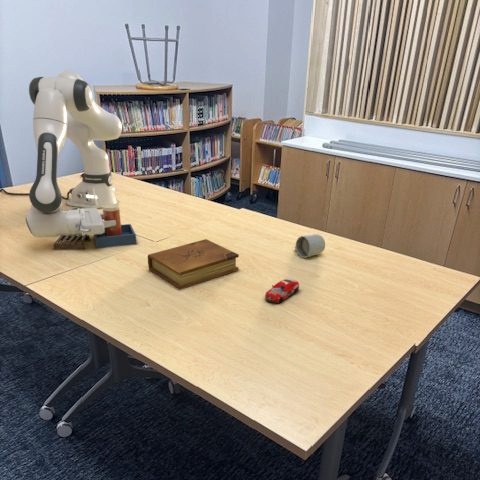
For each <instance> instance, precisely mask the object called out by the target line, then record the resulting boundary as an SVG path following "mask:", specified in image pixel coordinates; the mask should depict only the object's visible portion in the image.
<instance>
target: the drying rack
mask: <svg viewBox="0 0 480 480" xmlns="http://www.w3.org/2000/svg"><path fill="white" fill-rule="evenodd" d="M85 241H88V242H90V241H91V237H90V235H87V234H82V235H72V236H66V235H61V236H58V237H57V239H56V240H55V242H54V244H53V245H52V246H53V250H85V244H84V242H85Z"/></svg>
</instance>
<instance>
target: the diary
mask: <svg viewBox="0 0 480 480" xmlns="http://www.w3.org/2000/svg"><path fill="white" fill-rule="evenodd" d="M239 257H240V256H239V253H236V252H235V251H232V250H230V249H228V248H226V247H224V246H221V245H219V244H217V243H215V242H214V241H211V240H209V239H207V238H205V239H201V240H198V241H194V242H191V243H190V242H189V243H186V244H184V245H179V246H175V247H171V248H168V249H164V250H159V251H156V252H153V253H149V254H147V265H148V266H147V267H148V270H149V271H150V272H152V273H154V274H155V275H157V276H158V277H160V278H161V279H163V280H164V281H166V282H168V283H169V284H171V285H172V286H174V287H175V288H177V289H179V290H183V289H185V288H188V287H191V286H195V285H197V284H201V283H204V282H207V281H210V280H213V279H216V278H219V277H223V276H225V275H228V274H232V273H235V272H238V271H239V267H238V266H237V258H239Z"/></svg>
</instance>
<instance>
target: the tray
mask: <svg viewBox="0 0 480 480" xmlns="http://www.w3.org/2000/svg"><path fill="white" fill-rule="evenodd" d="M121 228H122V235H117V236H107V237H106V231H105V233H103V234H92V236H93V239H94V243H95V247H96V249H101V248H102V249H103V248H113V247H120V246H122V247H123V246H131V245H138V244H137V234H136V232H135V230H134V228H133V226H132V224H131V223H126V224H125V223H124V224H121ZM104 229H105V228H104Z"/></svg>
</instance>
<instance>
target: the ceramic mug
mask: <svg viewBox="0 0 480 480" xmlns="http://www.w3.org/2000/svg"><path fill="white" fill-rule="evenodd" d="M325 249H326V241H325V239H324V237H323V236H322V235H320V234H316V233H314V234H306V235H300V236H299V237H298V238H297V239H296V241H295V246H294V250H295V251H296V253H297V254H298V256H299V257H300V258H304V259H306V258H309V257H313V256H318V255H320V254H322V253H323V252H324V251H325Z"/></svg>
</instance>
